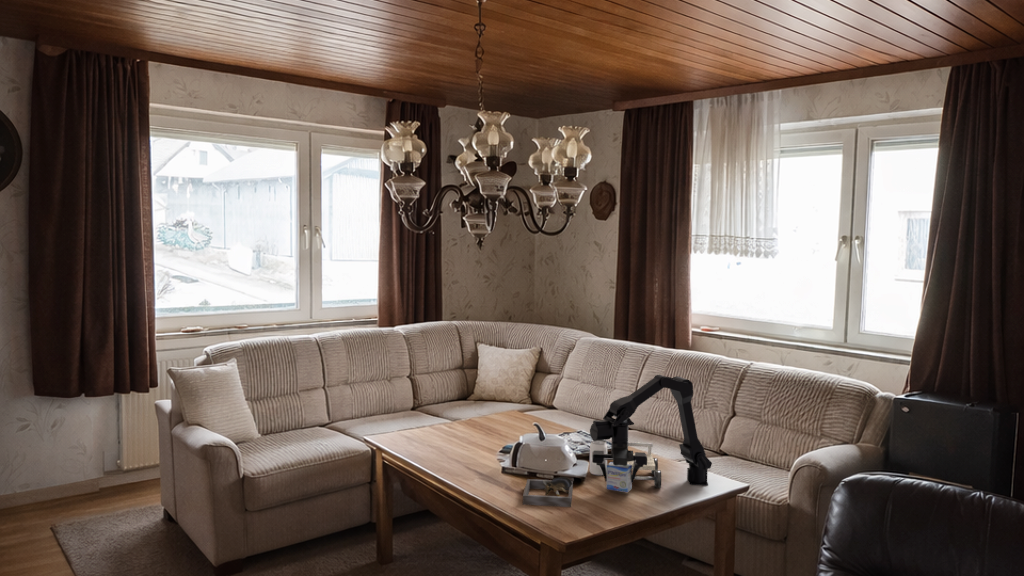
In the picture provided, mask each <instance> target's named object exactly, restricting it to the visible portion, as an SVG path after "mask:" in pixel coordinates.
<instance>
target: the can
mask: <svg viewBox="0 0 1024 576" xmlns="http://www.w3.org/2000/svg"><path fill="white" fill-rule="evenodd" d="M590 442H591V443H590V445H589V473H590V474H591V475H593V476H599V477H600V476H604V475H603V472H602V469H601V467H600V466H599V465H596V463H593V462H592V455H593V451H604V454H608V444H607V440H599V441H593V440H592V439H591V441H590ZM607 465H608V460H605V467H606V474H607Z"/></svg>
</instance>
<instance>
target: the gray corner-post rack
mask: <svg viewBox="0 0 1024 576" xmlns="http://www.w3.org/2000/svg"><path fill="white" fill-rule="evenodd" d="M653 446H654V445H653V442H638V441H637V442H636V441H628V447H643V448H647V453H646V455H647V465H643V467H640V468H639V469H638V471H639V470H641V471H642V470H643V471H650V472H651V475H654V476H648V475H647V476H645V475H636V476H635V478H634V480H637V481H638V480H642V481H653V482H654V488H662V471H661V469H659V461H658V459H659V458H658V457H654V456H653V453H652V448H653ZM633 455H635V452H633ZM633 463H634V461H630V462H627V465H632V470H633Z"/></svg>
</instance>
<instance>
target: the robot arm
mask: <svg viewBox="0 0 1024 576" xmlns="http://www.w3.org/2000/svg"><path fill="white" fill-rule="evenodd" d="M665 388H666V389H669V390H670V393H671V395H672V396H673V398H674V399H675V401H676V403H677V408H678V413H679V418H680V424H681V430H682V435H683V441H682V443H680V444H679V445H678V446H679V448H680V455H681V456H682V457H683V459H684V460H685V462H686V463H687V464H688V467H687V468H686V480H687V482H688V483H689V485H699V486H709V482H708V472H709V471H708V469H709V470H710V469H711V467H712V466H713V463H712V461H711V460H710V459H709V458H708V457H707V454H706V452H705V451H706V450H705V448H704V446H703V445H702V442H701V441H700V440H699V437H698V433H697V428H696V427H697V426H696V422H695V416H694V410H693V406H692V399H693V397H694V384H693V382H692V381H691V380H689V379H687V378H684V377H681V376H673V377H670V376H666V375H662V374H656V375H655V376H654V377H653V378H651V379H650V380H649V381H648V382H646V383H645V384H643V385H642V386H640V387H639V388H638V389H636V390H634V392H632V393H631V394H630V395H629V394H628V395H626V396H622V397H619V398H618V399H615V400H613V401H612V402H611V403H610V405H609V408H608V410H607V412H606V413H605V415H604V416H603V418H602V419H603V420H601V419H600V420H597V419H596V420H595V419H594V420H593V421H592V424H591V426H590V427H589V435H590V438H591V441H592V440H593V441H599V440H604V441H607V440H611V443H610V444H611V446H610V449H611V450H610V451H611V452H610V453H607V454H604V451H593V455H592V462H593V463H596V465H599V466H600V467H601V469H602V472H603V475H602V476H603V478H604V481H605V482H606V483H607V473H606V467H605V460H607V461H609V460H610V461H612V462H613V464H614V465H623V466H626V465H627V462H630V461H634V463H633V469H632V483H634V481H635V479H634V478H635V476H637V474H638V471H639V470H638V469H639V468H640V467H643V465H647V455H646V454H647V453H646V452H643V451H642V452H641V451H640V452H638V451H635V452H634V450H629V446H628V442H629V426H634V425H635V423H634V421H632V420H631V417H632V416H633V415H635V413H636V410H637V409H638V408H639V406H641V405H642V404H643V403H645V402H646V401H647V400H649V399H651V398H652V397H654V396H655V395H656V394H657V393H659V392H660V391H661V390H663V389H665ZM633 453H635V455H633Z"/></svg>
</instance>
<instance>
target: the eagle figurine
mask: <svg viewBox="0 0 1024 576" xmlns="http://www.w3.org/2000/svg"><path fill="white" fill-rule="evenodd" d="M542 480H543V483H544V484H543V485H544V486H545V488H546V489H545V488H543V489H542V490H544V491H545V494H544V496H548V495H549V494H550V492H553V493H554V494H556V496H560V493H559V491H561V492H564V493H566V494H568V495H569V491H568V490H565V489H564V487H571V485H572V484H573V483H574V482H573V483H572V480H571V479H570V477H566V476H560V477H559V476H558V477H553V479H552V481H551V483H549V482H548V481H547V480H548V479H542ZM573 485H574V484H573Z"/></svg>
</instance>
